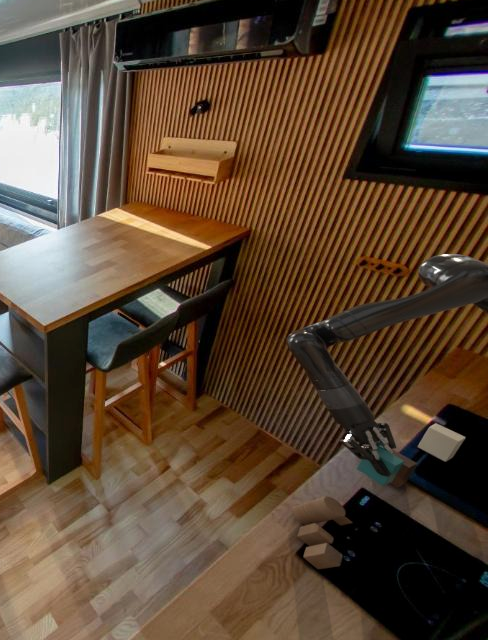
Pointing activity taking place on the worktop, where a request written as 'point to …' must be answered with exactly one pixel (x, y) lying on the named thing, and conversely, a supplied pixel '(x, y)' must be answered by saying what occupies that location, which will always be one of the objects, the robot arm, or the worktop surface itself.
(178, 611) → the worktop surface
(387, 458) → the tile
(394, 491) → the worktop surface
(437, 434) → the tile
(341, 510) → the wooden block set
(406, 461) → the brown rectangular block
